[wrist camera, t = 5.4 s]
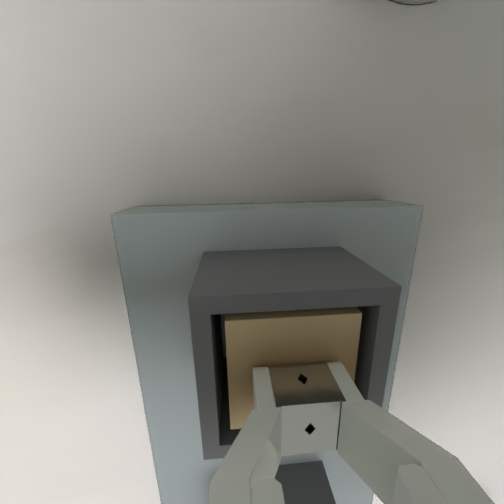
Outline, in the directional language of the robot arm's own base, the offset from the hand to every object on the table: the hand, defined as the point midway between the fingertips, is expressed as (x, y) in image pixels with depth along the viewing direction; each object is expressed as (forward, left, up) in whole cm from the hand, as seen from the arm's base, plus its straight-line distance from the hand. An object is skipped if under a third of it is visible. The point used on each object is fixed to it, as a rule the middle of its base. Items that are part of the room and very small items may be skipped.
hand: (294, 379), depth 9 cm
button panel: (+7, 0, -7) cm, 10 cm away
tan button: (0, 0, -4) cm, 4 cm away
